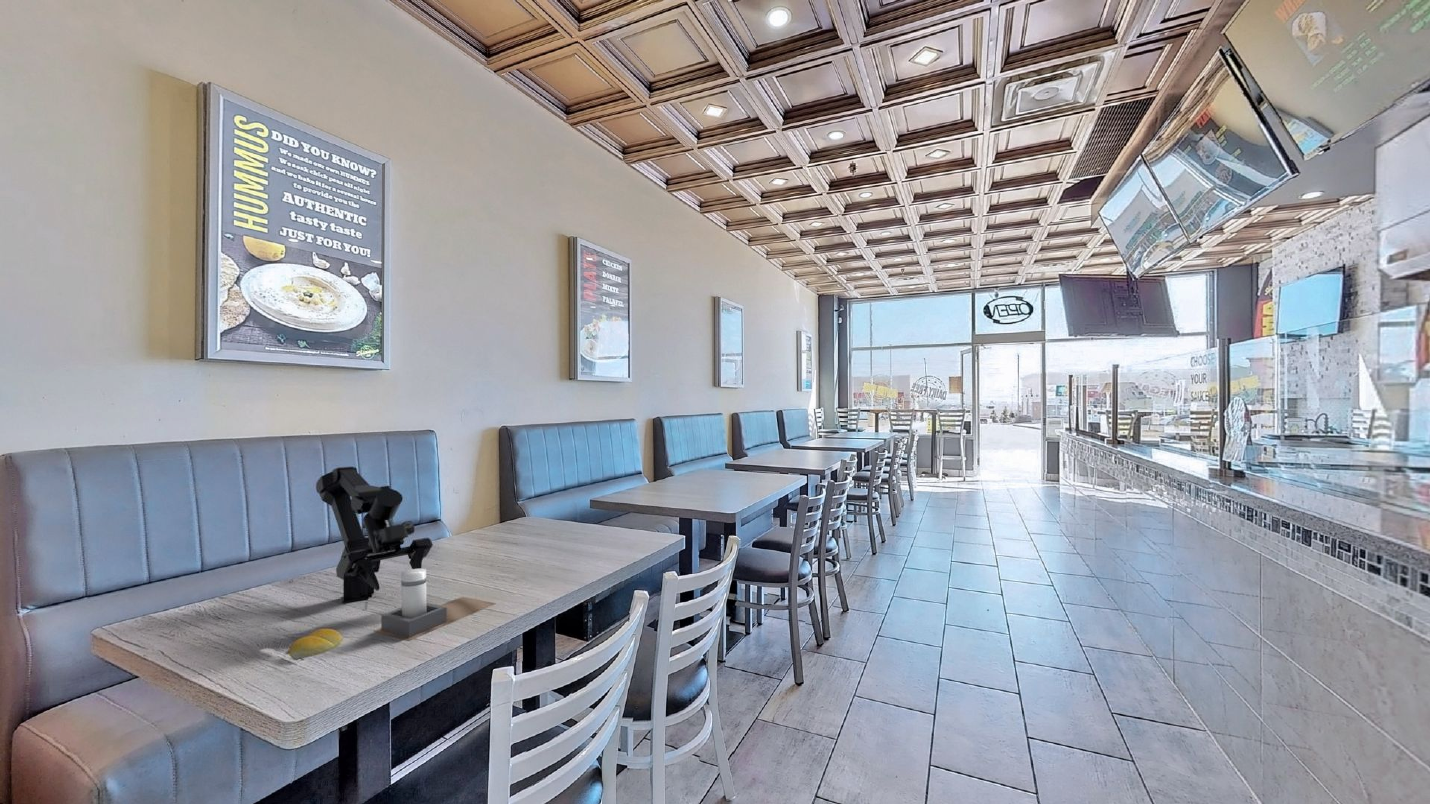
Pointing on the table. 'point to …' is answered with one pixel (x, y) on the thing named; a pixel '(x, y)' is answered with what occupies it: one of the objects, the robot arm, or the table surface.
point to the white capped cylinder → (413, 593)
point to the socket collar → (413, 621)
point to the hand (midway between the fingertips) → (399, 584)
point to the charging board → (451, 613)
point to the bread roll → (315, 643)
